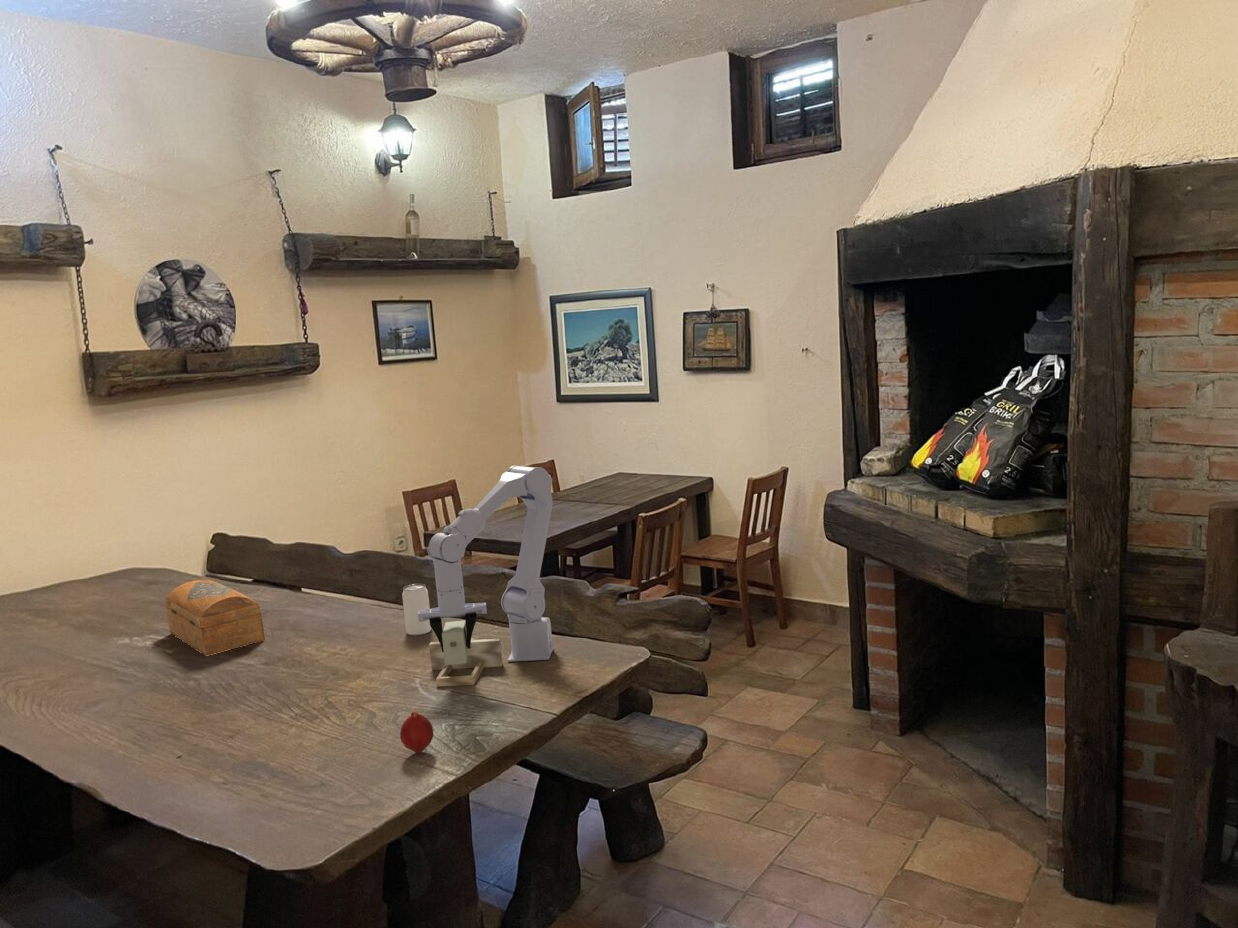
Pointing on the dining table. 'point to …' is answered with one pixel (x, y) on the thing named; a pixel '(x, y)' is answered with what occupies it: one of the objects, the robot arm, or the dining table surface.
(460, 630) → the cabinet block
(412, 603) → the can
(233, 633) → the wooden box
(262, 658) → the dining table surface
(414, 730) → the onion
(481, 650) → the wall board
